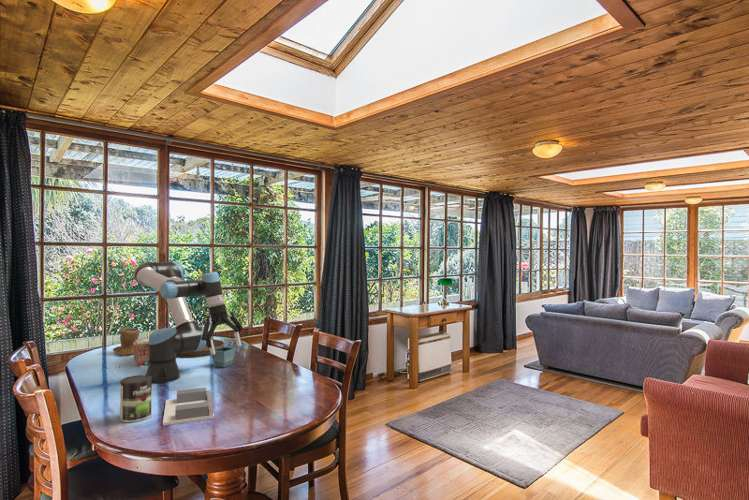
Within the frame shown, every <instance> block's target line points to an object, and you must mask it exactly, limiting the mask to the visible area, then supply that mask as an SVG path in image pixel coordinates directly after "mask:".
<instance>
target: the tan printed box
mask: <svg viewBox="0 0 749 500" xmlns="http://www.w3.org/2000/svg"><path fill="white" fill-rule="evenodd" d="M148 342H149V338H142V339H141V338H140V339H137V340H135V342H133V353H134V354H133V360H135V361H134V362H136V363H135V365H136V367H137V368H141V367H140V366H144V367H148V365H149V344H148Z"/></svg>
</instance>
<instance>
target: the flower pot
mask: <svg viewBox="0 0 749 500" xmlns="http://www.w3.org/2000/svg"><path fill="white" fill-rule="evenodd" d="M235 352H236V348H235V347H227V346H224V347H221V348H217V349H215V354H212V355H211V356H212V361H213V363H214V365H215V366H216V367H217V368H218V367H219V368H225V367H228V366H231V364H232V363H233V361H234V359H235V354H236V353H235Z"/></svg>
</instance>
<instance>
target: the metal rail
mask: <svg viewBox="0 0 749 500" xmlns="http://www.w3.org/2000/svg"><path fill="white" fill-rule="evenodd" d="M206 391H207V402H208V411H209V416H213V411H214V405H213V397H212V390H210V389H206Z"/></svg>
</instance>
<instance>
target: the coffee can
mask: <svg viewBox="0 0 749 500" xmlns="http://www.w3.org/2000/svg"><path fill="white" fill-rule="evenodd" d="M119 383H120V396H119V397H120V402H119V403H120V413H119V414H120V419H119V421H121V422H124V423H135V422H136V423H137V422H141V421H144V420H147V419H149V418H150V417H151V416H152V390H153V389H152V384H153V383H152V377H151V376H148V375H145V374H141V375H140V374H139V375H132V376H126V377H124V378H121V379H120V381H119Z"/></svg>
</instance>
